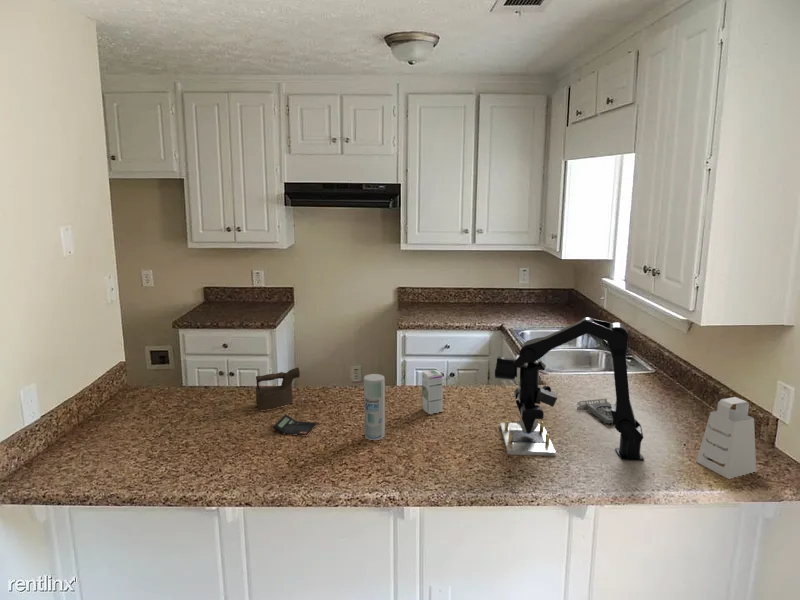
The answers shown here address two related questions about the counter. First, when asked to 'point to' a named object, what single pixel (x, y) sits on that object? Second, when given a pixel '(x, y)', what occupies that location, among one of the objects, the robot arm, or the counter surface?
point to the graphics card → (598, 409)
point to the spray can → (374, 406)
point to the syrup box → (432, 391)
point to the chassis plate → (526, 440)
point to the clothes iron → (276, 390)
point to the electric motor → (524, 426)
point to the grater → (729, 440)
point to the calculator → (293, 426)
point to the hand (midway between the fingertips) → (527, 428)
